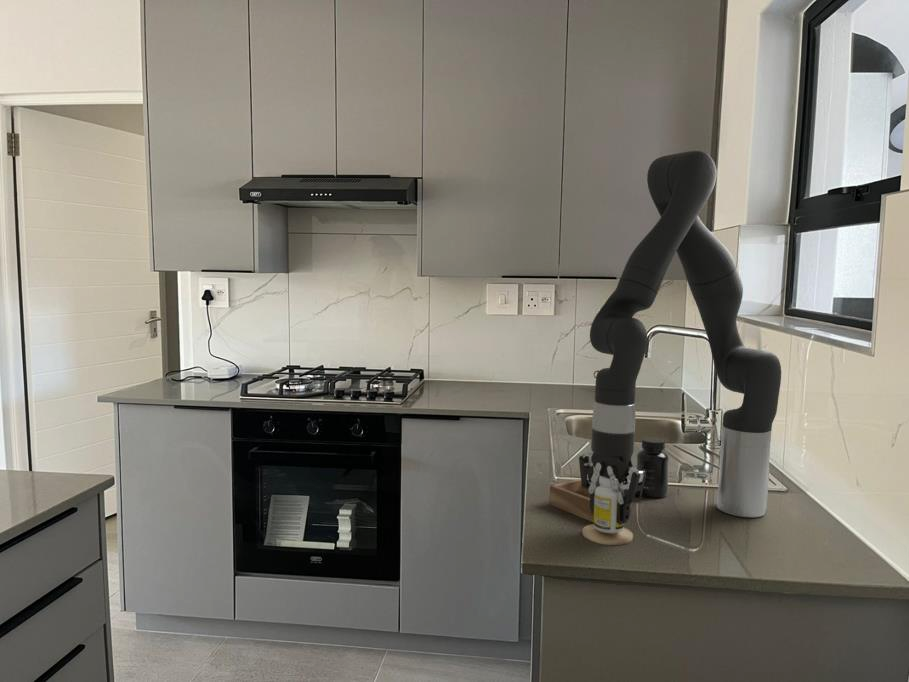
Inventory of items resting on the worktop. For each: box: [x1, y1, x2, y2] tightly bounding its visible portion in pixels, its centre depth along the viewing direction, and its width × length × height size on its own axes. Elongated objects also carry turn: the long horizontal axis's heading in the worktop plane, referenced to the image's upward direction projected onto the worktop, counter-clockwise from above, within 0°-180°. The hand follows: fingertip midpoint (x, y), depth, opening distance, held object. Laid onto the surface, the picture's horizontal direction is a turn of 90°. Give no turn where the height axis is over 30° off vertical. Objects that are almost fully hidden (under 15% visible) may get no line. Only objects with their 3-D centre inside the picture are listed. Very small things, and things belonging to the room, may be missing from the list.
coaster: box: [582, 523, 634, 546], centre depth 129 cm, size 9×9×1 cm
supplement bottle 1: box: [593, 475, 625, 533], centre depth 128 cm, size 5×5×10 cm
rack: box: [548, 478, 633, 523], centre depth 143 cm, size 10×13×4 cm
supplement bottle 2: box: [635, 437, 670, 499], centre depth 154 cm, size 7×7×12 cm
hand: (608, 517), depth 129 cm, fingers closed on supplement bottle 1, 5 cm apart
